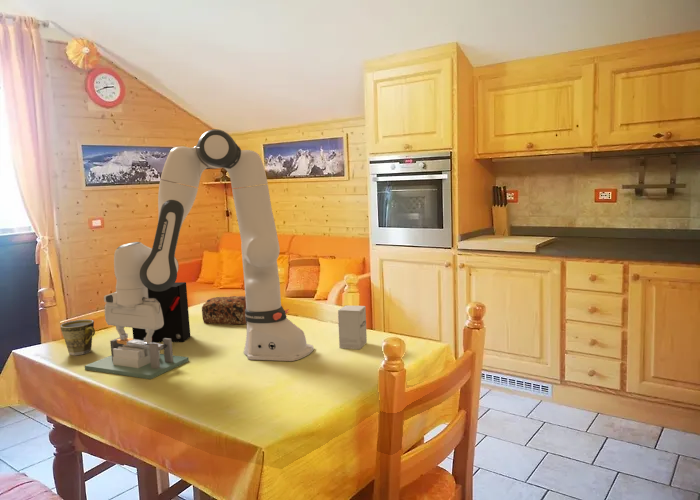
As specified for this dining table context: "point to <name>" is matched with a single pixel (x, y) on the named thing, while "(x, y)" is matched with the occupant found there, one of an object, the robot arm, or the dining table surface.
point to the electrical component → (170, 315)
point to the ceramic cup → (78, 336)
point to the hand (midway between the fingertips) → (135, 341)
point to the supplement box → (352, 327)
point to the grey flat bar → (140, 343)
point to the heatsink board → (136, 371)
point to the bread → (225, 310)
